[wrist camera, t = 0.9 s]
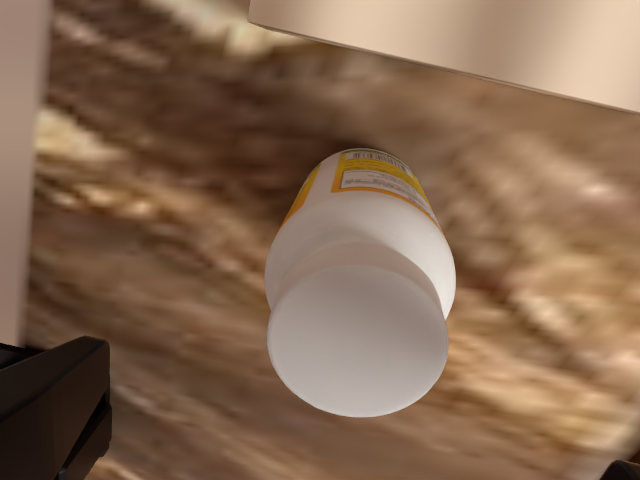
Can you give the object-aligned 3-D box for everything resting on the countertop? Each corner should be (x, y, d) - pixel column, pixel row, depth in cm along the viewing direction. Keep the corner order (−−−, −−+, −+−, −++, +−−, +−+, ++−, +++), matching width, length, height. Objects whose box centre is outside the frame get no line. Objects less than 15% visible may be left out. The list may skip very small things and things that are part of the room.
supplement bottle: (394, 123, 16) (433, 188, 8) (442, 238, 18) (520, 403, 9) (275, 179, 18) (189, 292, 9) (330, 282, 19) (304, 463, 10)
